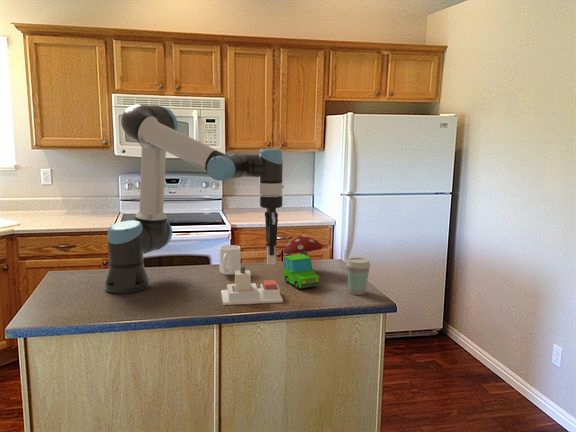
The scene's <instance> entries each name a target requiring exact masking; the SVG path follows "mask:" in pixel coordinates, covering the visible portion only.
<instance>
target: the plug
mask: <svg viewBox="0 0 576 432" xmlns="http://www.w3.org/2000/svg"><path fill="white" fill-rule="evenodd" d="M251 274H252V273H251V271H250V270H249V269H247V270H246V266H245V265H244V266H243V265H242V266H241V265H240V271H235V275H234V284H235V292H244V291H251V283H252V281H251V280H252V279H251V278H252V277H251V276H252V275H251Z"/></svg>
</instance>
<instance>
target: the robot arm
mask: <svg viewBox="0 0 576 432" xmlns="http://www.w3.org/2000/svg"><path fill="white" fill-rule="evenodd" d="M120 120H121V121H120V123H121V127H122V130H123V132H124V133H125V134H126V135H127V136H128V137H130V138H132V139H133V140H134V141H135V140H136V141H137V143H138V145H140V147H141V160H140V161H141V163H140V186H139V187H140V193H139V211H138V212H137V213H136V214H135V215H134V220H132V219H131V220H125V221H122V220H121V221H119V222H115V223H113V224H111V225H110V226H109V227H108V229H107V248H108V249H107V250H108V262H109V263H108V265H109V266H108V272H107V274H106V279H105V281H104V290H105V292H108V293H111V294H118V295H119V294H120V295H123V294H134V293H139V292H142V291H145V290H147V289H149V287H150V278H149V276H148V274H147V271H146V268H145V266H144V255H145V254H148V253H150V252H154V251H158V250H159V251H160V249H162V248H164V247H166V246H168V244H169V243H170V242H171V239H172V237H173V228H172V225H170V222H169V221H168V216H167V215H166V213H165V212H164V201H165V200H164V198H165V181H166V179H165V178H166V157H167V154H166V153H169V154H170V155H173V156H175V157H176V158H178V159H181V160H183V161H185V162H187V163H189V164H191V165H193V166H195V167H197V168H199V169H201V170H203V171H204V172H207V174H208V176H209V177H210V178H211V179H212V180H214V181H221V182H223V181H228V180H232V179H238V178H246V177H249V178H259V194H260V196H259V206H260V208H264V209H266V211H265V212H264V217H265V220H264V221H265V241H266V243H265V246H266V264H267V265H276V246H277V243H278V241H277V240H278V237H277V235H278V223H279V219H278V217H279V214H278V213H277V209H279V208H282V207H283V196H282V195H283V189H284V188H285V185H284V184H283V164H284V161H283V159H284V158H283V152H282V149H280V148H261V149H260V150H259V154H250V153H249V154H247V153H245V154H244V153H233V154H229V155H228V154H226V153H223V152H221V151H219V150H217V149H215V148H213V147H211V146H209V145H207V144H205V143H202V142H200V141H199V140H196V139H195V138H192V137H190V136H188V135H186V134H184V133H181V132H179V131H178V119H177V117H176V115H175V114H174V112H173V111H172V110H171V109H169V108H168V107H165V106H161V105H152V104H151V105H149V104H133V105H131V106H128V107H127V108H126V109H125V110H124V111H123V112H122V115H121V118H120Z"/></svg>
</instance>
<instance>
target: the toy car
mask: <svg viewBox="0 0 576 432" xmlns="http://www.w3.org/2000/svg"><path fill="white" fill-rule="evenodd" d="M308 256H309V255H308ZM308 256H306V255H304V254H300V253H298V254H291V255H285V256H283V280H285V284H292V285H294V289H296V290H300V289H305V288H316V287H318V286H320V276H319V275H318V274H317V273H316V272H315V268H314V269H313V265H312V258H311V257H310V256H309V257H308Z"/></svg>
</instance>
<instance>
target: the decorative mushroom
mask: <svg viewBox="0 0 576 432" xmlns="http://www.w3.org/2000/svg"><path fill="white" fill-rule="evenodd" d="M323 247H324V245H322V243H320V242H319V241H318V240H317V239H314V238H312V237H309V236H307V235H301V234H300V235H298V236H297V237H295V238H293V239H292V240H291V241H289V242H288V243H287V244H286V245H285V247H284V248H283V253H284V254H288V255H289V254H291V255H294V254H304V255H306V256H308V257H310V256H309V254H308V253H309V252H314V251H321V250H322V249H323Z"/></svg>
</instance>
